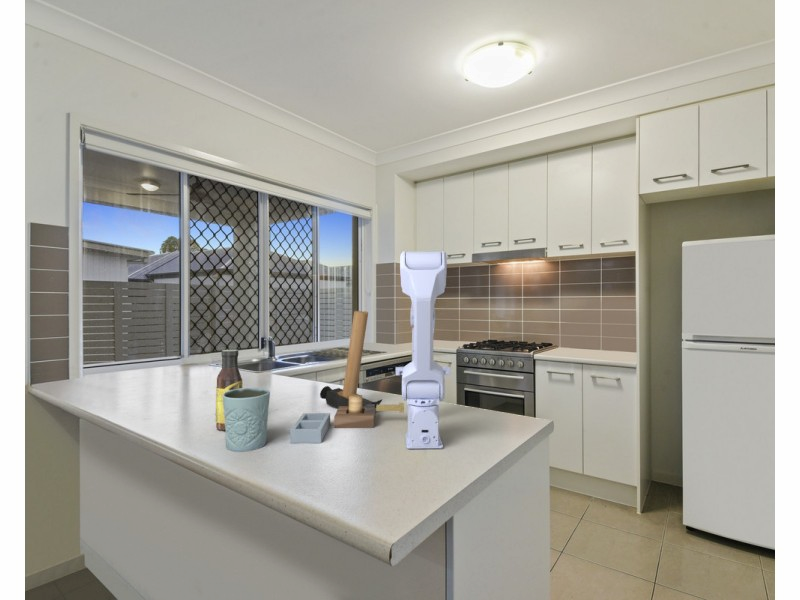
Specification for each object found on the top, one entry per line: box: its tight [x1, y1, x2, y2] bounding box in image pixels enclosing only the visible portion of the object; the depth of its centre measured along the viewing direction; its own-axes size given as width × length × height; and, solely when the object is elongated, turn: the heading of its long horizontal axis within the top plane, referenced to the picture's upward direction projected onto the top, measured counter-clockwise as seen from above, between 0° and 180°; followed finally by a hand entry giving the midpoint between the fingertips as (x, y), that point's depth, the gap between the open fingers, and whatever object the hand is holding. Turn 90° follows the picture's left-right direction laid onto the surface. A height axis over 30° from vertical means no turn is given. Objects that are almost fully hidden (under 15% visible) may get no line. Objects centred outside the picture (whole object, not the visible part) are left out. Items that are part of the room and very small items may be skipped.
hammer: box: [319, 310, 383, 410], centre depth 124 cm, size 20×5×30 cm, turn 56°
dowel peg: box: [349, 394, 363, 413], centre depth 111 cm, size 4×4×7 cm
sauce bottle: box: [215, 349, 243, 431], centre depth 107 cm, size 7×6×20 cm
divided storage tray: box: [289, 412, 331, 444], centre depth 102 cm, size 14×7×3 cm, turn 1°
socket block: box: [333, 404, 376, 429], centre depth 111 cm, size 10×10×4 cm
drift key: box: [375, 402, 405, 414], centre depth 111 cm, size 3×7×2 cm, turn 91°
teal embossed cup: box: [222, 387, 271, 453], centre depth 94 cm, size 10×10×12 cm
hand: (422, 401), depth 112 cm, fingers closed
